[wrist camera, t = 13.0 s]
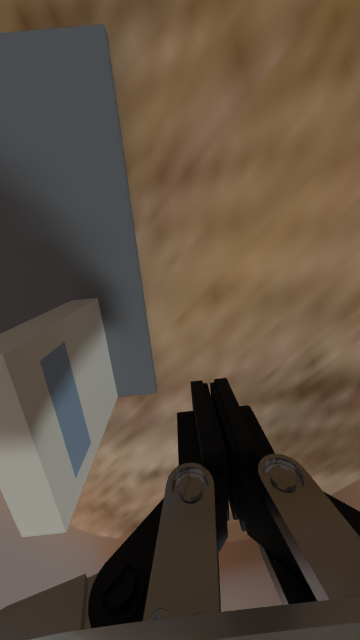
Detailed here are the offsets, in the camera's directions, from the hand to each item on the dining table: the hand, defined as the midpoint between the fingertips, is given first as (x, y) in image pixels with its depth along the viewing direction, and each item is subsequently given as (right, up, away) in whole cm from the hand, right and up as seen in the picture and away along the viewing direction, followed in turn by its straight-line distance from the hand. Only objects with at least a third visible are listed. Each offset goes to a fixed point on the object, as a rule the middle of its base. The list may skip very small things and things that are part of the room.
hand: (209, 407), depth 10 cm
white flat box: (-8, +2, +6) cm, 10 cm away
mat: (-12, +8, +5) cm, 15 cm away
